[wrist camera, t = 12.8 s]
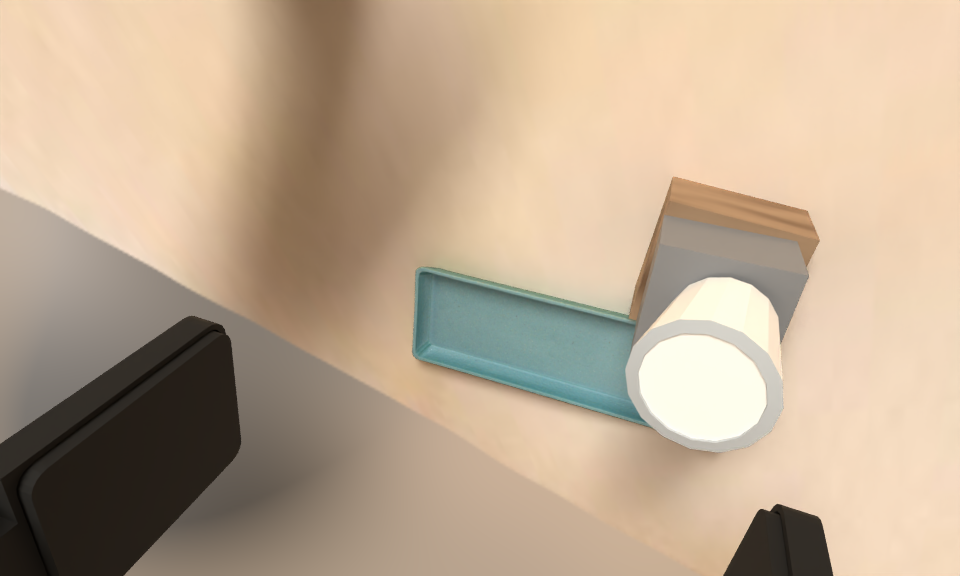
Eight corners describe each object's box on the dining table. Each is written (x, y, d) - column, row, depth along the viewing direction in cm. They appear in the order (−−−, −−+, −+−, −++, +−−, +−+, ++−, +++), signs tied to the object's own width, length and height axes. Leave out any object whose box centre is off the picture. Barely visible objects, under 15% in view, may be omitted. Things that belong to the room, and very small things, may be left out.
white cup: (806, 374, 32) (801, 452, 26) (676, 386, 35) (647, 456, 30) (775, 253, 30) (762, 307, 25) (643, 278, 34) (605, 331, 28)
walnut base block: (673, 175, 40) (669, 200, 36) (806, 210, 38) (819, 240, 34) (635, 284, 44) (628, 318, 40) (754, 319, 43) (760, 358, 38)
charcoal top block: (664, 214, 36) (659, 243, 32) (797, 241, 34) (808, 275, 31) (636, 319, 40) (629, 356, 36) (755, 348, 38) (761, 390, 34)
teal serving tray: (420, 346, 54) (409, 361, 52) (425, 254, 49) (413, 267, 47) (726, 430, 48) (727, 451, 46) (764, 335, 43) (767, 354, 41)
